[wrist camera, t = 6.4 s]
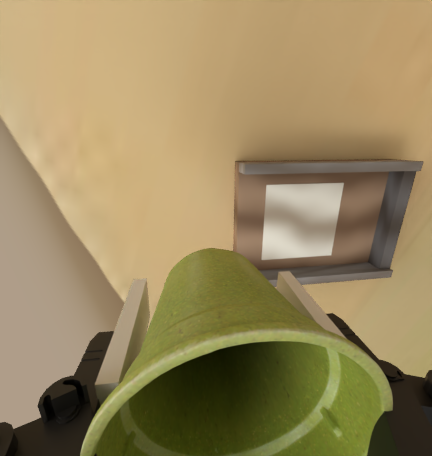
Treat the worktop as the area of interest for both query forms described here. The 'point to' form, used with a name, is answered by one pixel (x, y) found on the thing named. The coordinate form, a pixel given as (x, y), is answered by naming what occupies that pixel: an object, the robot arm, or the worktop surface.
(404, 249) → the worktop surface
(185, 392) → the plant pot
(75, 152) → the worktop surface
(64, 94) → the worktop surface
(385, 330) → the worktop surface
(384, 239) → the dock
